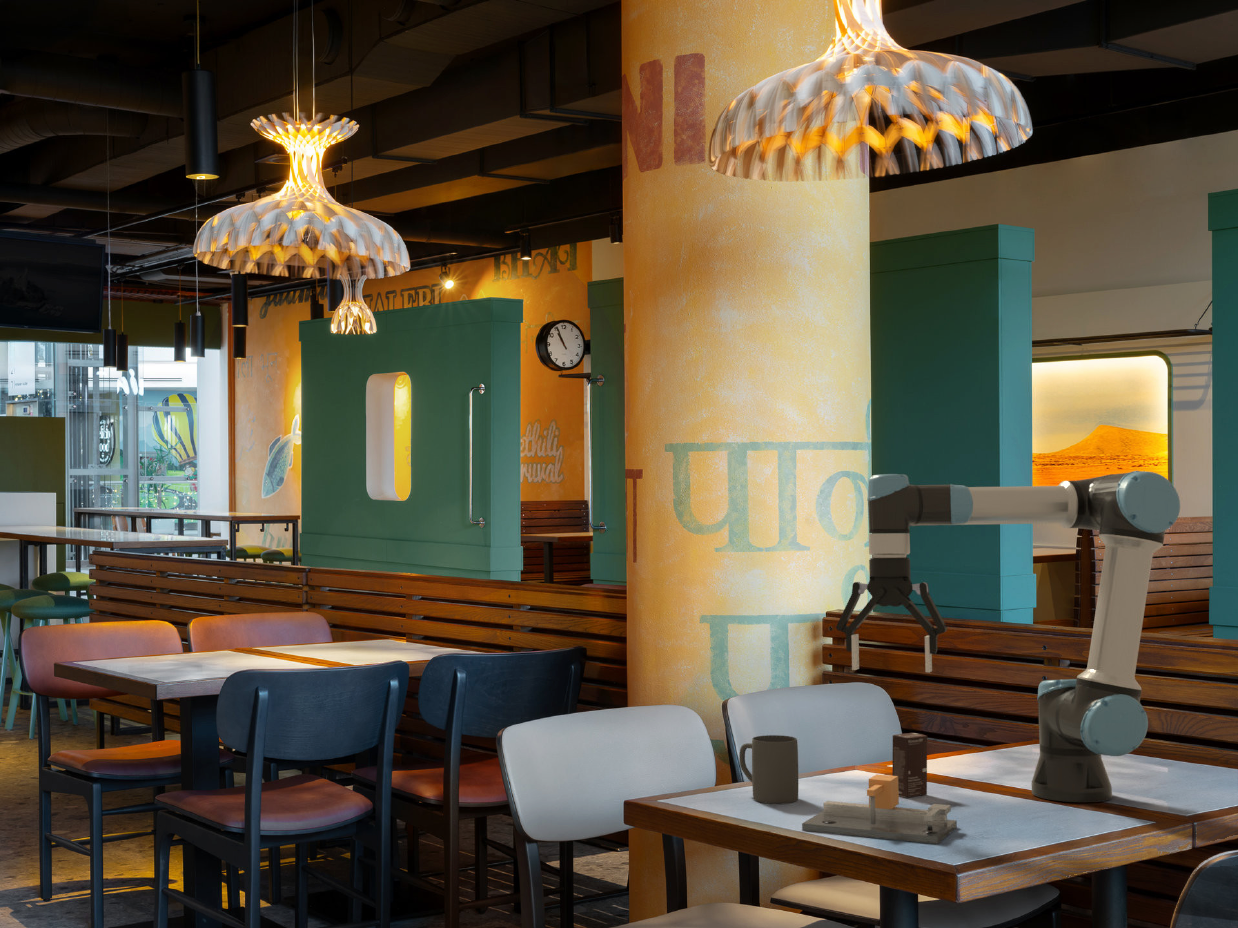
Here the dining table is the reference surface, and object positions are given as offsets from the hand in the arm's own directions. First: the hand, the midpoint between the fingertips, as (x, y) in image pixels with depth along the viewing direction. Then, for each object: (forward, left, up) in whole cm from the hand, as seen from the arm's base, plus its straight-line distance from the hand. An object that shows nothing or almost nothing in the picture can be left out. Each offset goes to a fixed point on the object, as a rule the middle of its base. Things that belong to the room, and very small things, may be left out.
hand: (891, 670), depth 238 cm
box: (+3, -21, -27) cm, 35 cm away
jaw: (0, +10, -25) cm, 27 cm away
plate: (0, +11, -27) cm, 29 cm away
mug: (+28, -6, -27) cm, 39 cm away
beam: (0, +11, -26) cm, 28 cm away
